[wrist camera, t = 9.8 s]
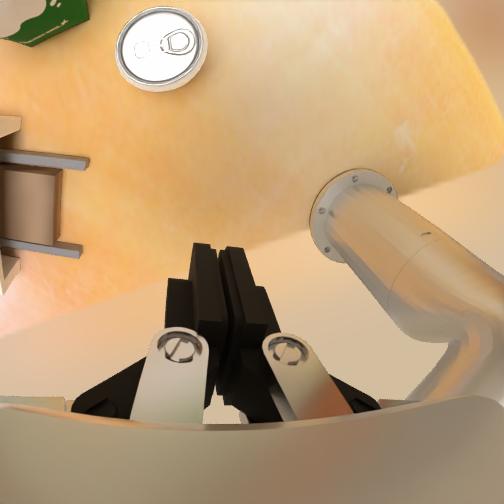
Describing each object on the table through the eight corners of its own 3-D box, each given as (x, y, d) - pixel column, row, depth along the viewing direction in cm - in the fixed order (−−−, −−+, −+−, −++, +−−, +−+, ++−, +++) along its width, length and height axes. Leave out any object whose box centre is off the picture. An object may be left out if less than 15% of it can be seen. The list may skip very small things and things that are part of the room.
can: (204, 84, 29) (216, 82, 18) (140, 96, 28) (117, 102, 18) (196, 25, 25) (204, -7, 15) (131, 38, 25) (104, 13, 14)
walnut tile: (64, 168, 30) (54, 176, 27) (61, 233, 33) (53, 246, 31) (-14, 160, 26) (-26, 167, 24) (-12, 222, 30) (-23, 232, 27)
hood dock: (94, 122, 28) (77, 131, 23) (81, 279, 36) (70, 309, 31) (-19, 115, 23) (-48, 124, 18) (-15, 261, 32) (-35, 286, 26)
